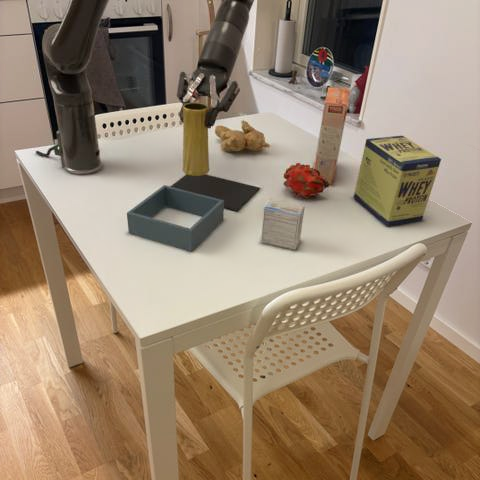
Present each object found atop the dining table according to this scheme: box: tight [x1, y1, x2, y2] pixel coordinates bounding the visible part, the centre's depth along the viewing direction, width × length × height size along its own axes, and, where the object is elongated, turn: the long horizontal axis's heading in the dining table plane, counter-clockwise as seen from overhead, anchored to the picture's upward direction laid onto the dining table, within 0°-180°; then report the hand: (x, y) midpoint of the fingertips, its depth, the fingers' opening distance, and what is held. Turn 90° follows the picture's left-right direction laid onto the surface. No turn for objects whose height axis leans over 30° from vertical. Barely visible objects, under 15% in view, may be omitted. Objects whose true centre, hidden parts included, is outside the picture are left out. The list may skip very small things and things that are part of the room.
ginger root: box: [214, 120, 271, 153], centre depth 151 cm, size 16×16×8 cm
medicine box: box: [260, 199, 305, 251], centre depth 110 cm, size 8×4×9 cm, turn 71°
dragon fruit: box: [283, 162, 330, 200], centre depth 129 cm, size 8×8×12 cm
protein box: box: [353, 135, 442, 227], centre depth 123 cm, size 10×16×16 cm
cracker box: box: [313, 86, 351, 186], centre depth 135 cm, size 14×6×21 cm, turn 168°
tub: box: [126, 184, 225, 252], centre depth 114 cm, size 16×16×5 cm
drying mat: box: [169, 173, 260, 213], centre depth 130 cm, size 20×14×1 cm
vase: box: [181, 101, 210, 176], centre depth 112 cm, size 6×6×14 cm
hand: (194, 123), depth 110 cm, fingers closed on vase, 5 cm apart
